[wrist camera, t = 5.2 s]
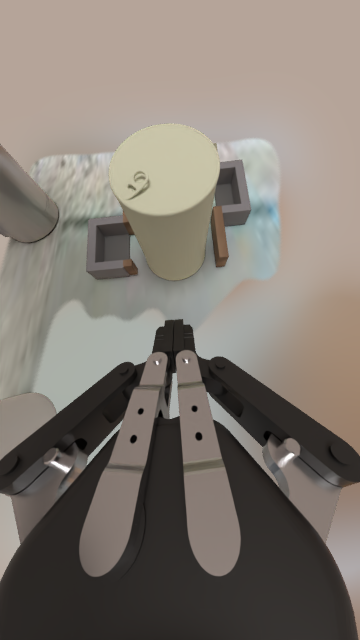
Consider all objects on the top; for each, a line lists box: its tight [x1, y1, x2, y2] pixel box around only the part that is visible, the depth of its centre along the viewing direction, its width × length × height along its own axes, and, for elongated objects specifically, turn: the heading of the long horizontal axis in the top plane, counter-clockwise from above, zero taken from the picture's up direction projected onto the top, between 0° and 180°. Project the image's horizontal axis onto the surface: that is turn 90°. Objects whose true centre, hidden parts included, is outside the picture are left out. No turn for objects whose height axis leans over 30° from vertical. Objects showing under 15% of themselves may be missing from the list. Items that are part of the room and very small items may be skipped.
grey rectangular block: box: [109, 124, 220, 280], centre depth 18 cm, size 9×9×12 cm
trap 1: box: [215, 160, 251, 226], centre depth 23 cm, size 4×9×2 cm, turn 4°
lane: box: [123, 143, 229, 275], centre depth 22 cm, size 14×17×4 cm
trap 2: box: [86, 215, 130, 279], centre depth 23 cm, size 5×8×2 cm, turn 4°
